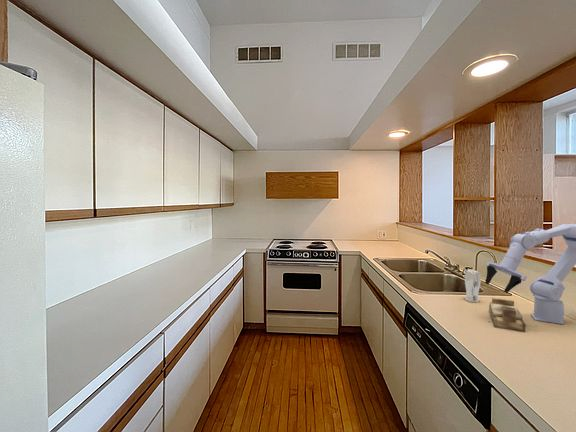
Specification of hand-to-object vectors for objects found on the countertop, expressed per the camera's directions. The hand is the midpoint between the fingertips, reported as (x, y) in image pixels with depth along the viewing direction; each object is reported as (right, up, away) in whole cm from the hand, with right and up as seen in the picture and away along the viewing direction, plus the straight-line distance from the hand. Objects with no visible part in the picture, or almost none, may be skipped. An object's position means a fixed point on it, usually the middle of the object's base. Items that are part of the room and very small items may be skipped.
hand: (495, 287), depth 129 cm
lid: (+6, -11, +3) cm, 13 cm away
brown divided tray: (+5, -14, +1) cm, 15 cm away
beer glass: (+7, -13, +27) cm, 31 cm away
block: (+1, -12, -6) cm, 13 cm away
